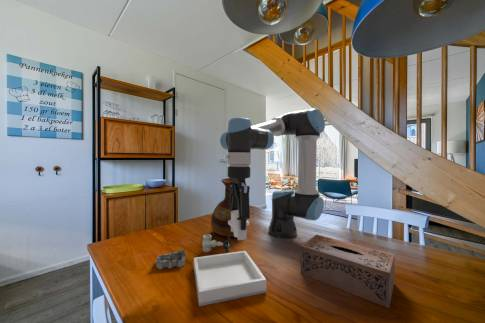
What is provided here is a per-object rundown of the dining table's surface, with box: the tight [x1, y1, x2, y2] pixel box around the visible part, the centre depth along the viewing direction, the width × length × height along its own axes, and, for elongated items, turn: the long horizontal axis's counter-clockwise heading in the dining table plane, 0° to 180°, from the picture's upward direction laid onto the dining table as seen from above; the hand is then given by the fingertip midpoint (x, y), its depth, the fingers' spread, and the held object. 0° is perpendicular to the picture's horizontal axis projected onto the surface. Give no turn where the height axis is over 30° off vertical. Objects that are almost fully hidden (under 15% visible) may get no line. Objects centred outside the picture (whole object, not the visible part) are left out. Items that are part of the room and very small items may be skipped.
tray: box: [193, 250, 267, 307], centre depth 68 cm, size 20×20×4 cm
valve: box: [202, 233, 232, 253], centre depth 89 cm, size 7×7×12 cm
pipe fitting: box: [228, 210, 250, 238], centre depth 68 cm, size 6×7×8 cm
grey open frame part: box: [155, 249, 187, 270], centre depth 78 cm, size 11×8×4 cm
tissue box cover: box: [299, 234, 396, 309], centre depth 70 cm, size 26×14×10 cm, turn 49°
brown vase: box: [210, 177, 235, 238], centre depth 111 cm, size 20×20×30 cm
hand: (238, 234), depth 68 cm, fingers closed on pipe fitting, 7 cm apart
